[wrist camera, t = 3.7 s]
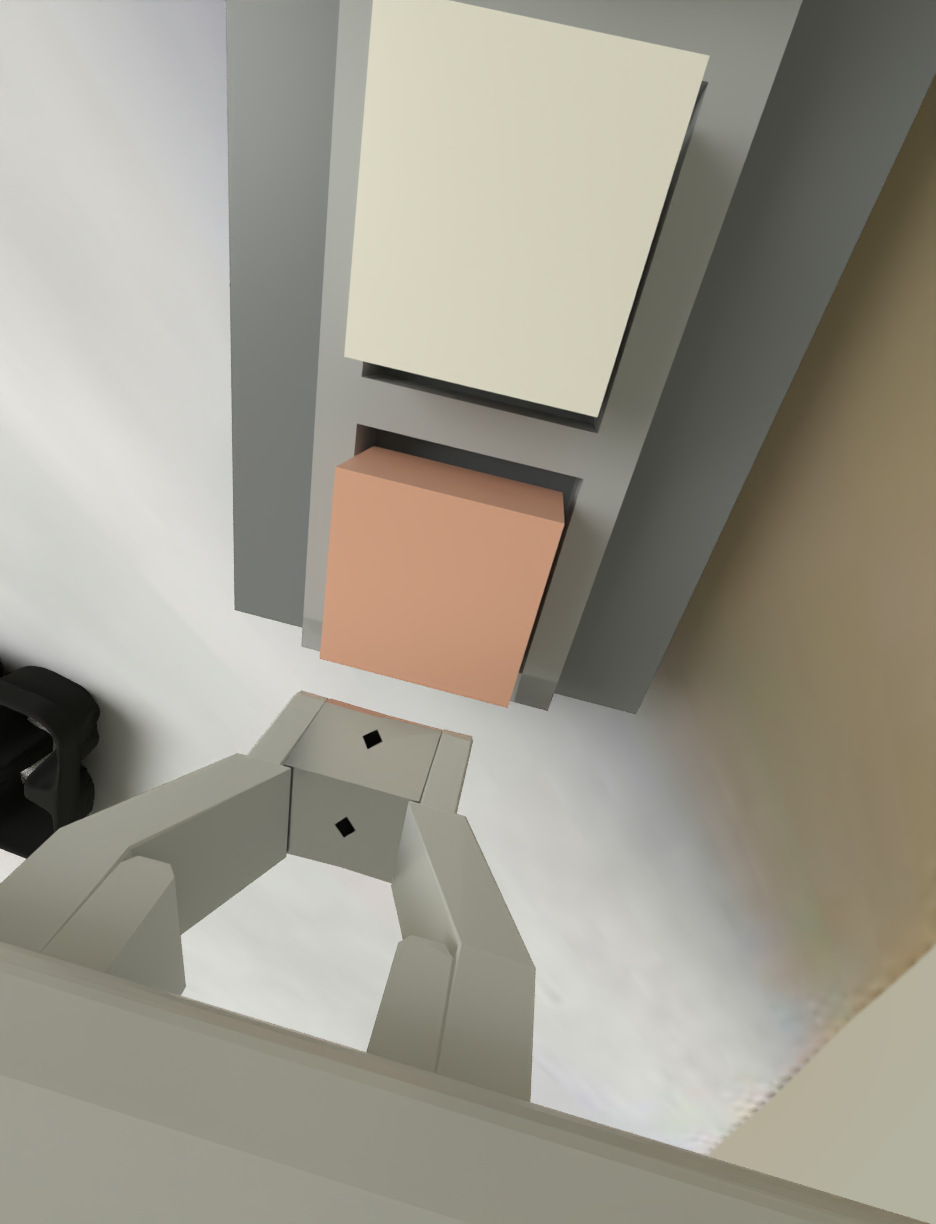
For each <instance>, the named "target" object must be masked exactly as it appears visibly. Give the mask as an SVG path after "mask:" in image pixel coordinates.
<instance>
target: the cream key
mask: <svg viewBox="0 0 936 1224" xmlns="http://www.w3.org/2000/svg"><path fill="white" fill-rule="evenodd" d="M708 60H709V55H704V54H699V53H695V52H690V51H685V50H681V49H676V48H671V47H666V46H662V45H657V44H652V43H648V42H643V41H638V40H634V39H629V38H624V37H619V36H615V35H610V34H605V33H601V32H596V31H591V30H587V29H582V28H577V27H573V26H568V25H563V24H558V23H554V22H549V21H544V20H540V19H535V18H530V17H526V16H521V15H516V14H511V13H507V12H502V11H497V10H493V9H488V8H483V7H479V6H474V5H469V4H464V3H460V2H455V1H450V0H373V4H372V17H371V29H370V42H369V54H368V66H367V79H366V91H365V104H364V116H363V128H362V141H361V153H360V166H359V178H358V190H357V203H356V215H355V228H354V240H353V252H352V265H351V277H350V290H349V302H348V314H347V327H346V339H345V352H344V357H348V358H352V359H356V360H360V361H364V362H368V363H373V364H377V365H381V366H385V367H389V368H393V369H398V370H402V371H406V372H410V373H414V374H418V375H423V376H427V377H431V378H435V379H439V380H443V381H448V382H452V383H456V384H460V385H464V386H468V387H473V388H477V389H481V390H485V391H489V392H493V393H498V394H502V395H506V396H510V397H514V398H519V399H523V400H527V401H531V402H535V403H539V404H544V405H548V406H552V407H556V408H560V409H564V410H569V411H573V412H577V413H581V414H585V415H589V416H594V417H598V414H599V411H600V408H601V405H602V401H603V398H604V395H605V392H606V389H607V385H608V382H609V379H610V376H611V372H612V369H613V366H614V363H615V359H616V356H617V353H618V350H619V347H620V343H621V340H622V337H623V334H624V330H625V327H626V324H627V321H628V318H629V314H630V311H631V308H632V305H633V301H634V298H635V295H636V292H637V289H638V285H639V282H640V279H641V276H642V272H643V269H644V266H645V263H646V260H647V256H648V253H649V250H650V247H651V243H652V240H653V237H654V234H655V231H656V227H657V224H658V221H659V218H660V214H661V211H662V208H663V205H664V201H665V198H666V195H667V192H668V189H669V185H670V182H671V179H672V176H673V172H674V169H675V166H676V163H677V160H678V156H679V153H680V150H681V147H682V143H683V140H684V137H685V134H686V131H687V127H688V124H689V121H690V118H691V114H692V111H693V108H694V105H695V102H696V98H697V95H698V92H699V89H700V85H701V82H702V79H703V76H704V72H705V69H706V66H707V63H708Z"/></svg>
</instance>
